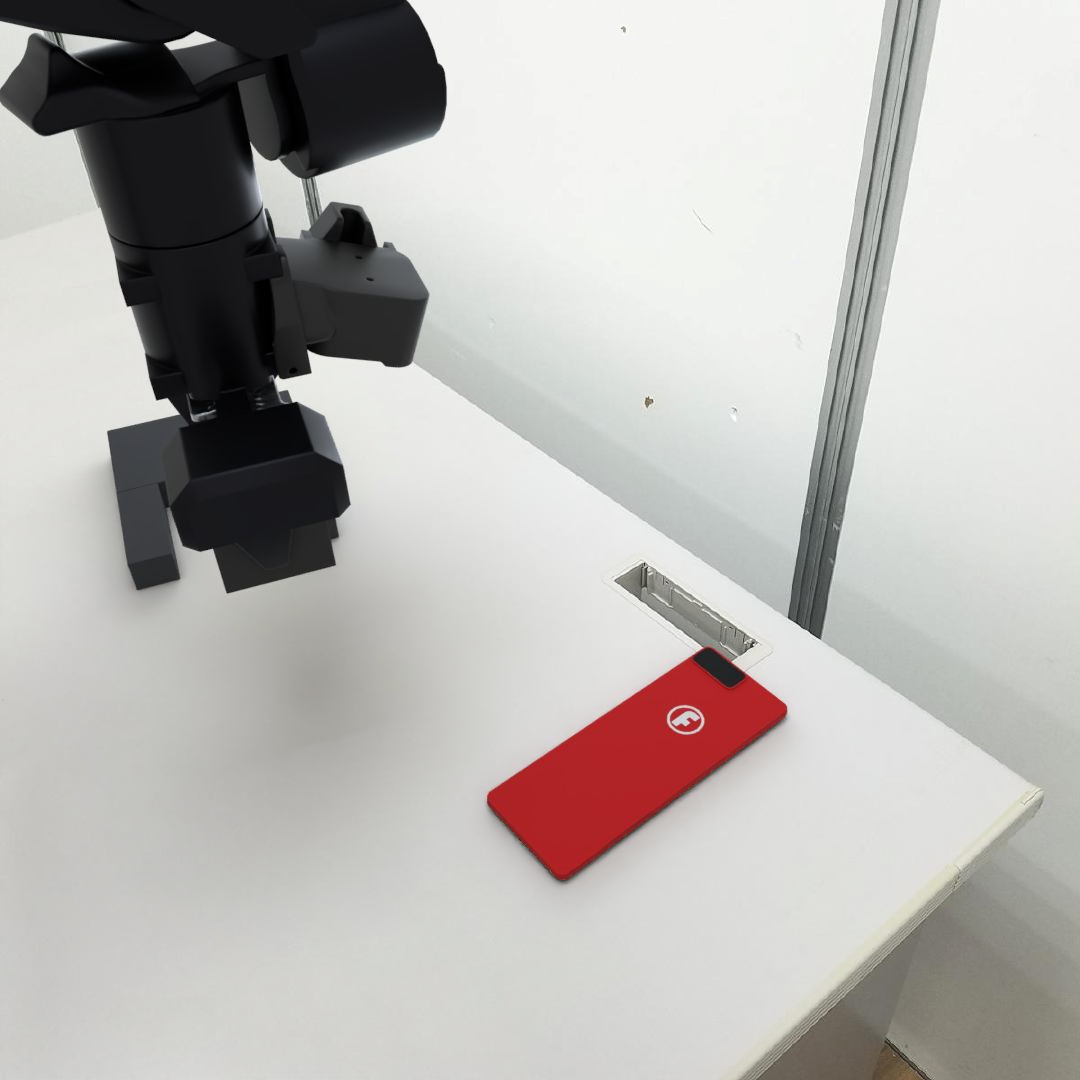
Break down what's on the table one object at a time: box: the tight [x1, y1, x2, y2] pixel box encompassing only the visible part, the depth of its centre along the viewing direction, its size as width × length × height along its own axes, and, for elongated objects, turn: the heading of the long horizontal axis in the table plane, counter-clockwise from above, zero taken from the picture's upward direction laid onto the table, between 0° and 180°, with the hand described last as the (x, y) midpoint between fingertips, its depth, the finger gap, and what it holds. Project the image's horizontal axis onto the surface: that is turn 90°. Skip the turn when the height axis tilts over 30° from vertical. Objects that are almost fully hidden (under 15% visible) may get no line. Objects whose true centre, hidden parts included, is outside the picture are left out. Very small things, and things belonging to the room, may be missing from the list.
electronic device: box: [486, 646, 788, 881], centre depth 56 cm, size 6×1×15 cm
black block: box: [212, 521, 337, 595], centre depth 52 cm, size 5×5×3 cm
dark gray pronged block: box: [106, 389, 340, 590], centre depth 72 cm, size 12×14×2 cm
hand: (267, 529), depth 53 cm, fingers closed on black block, 5 cm apart
